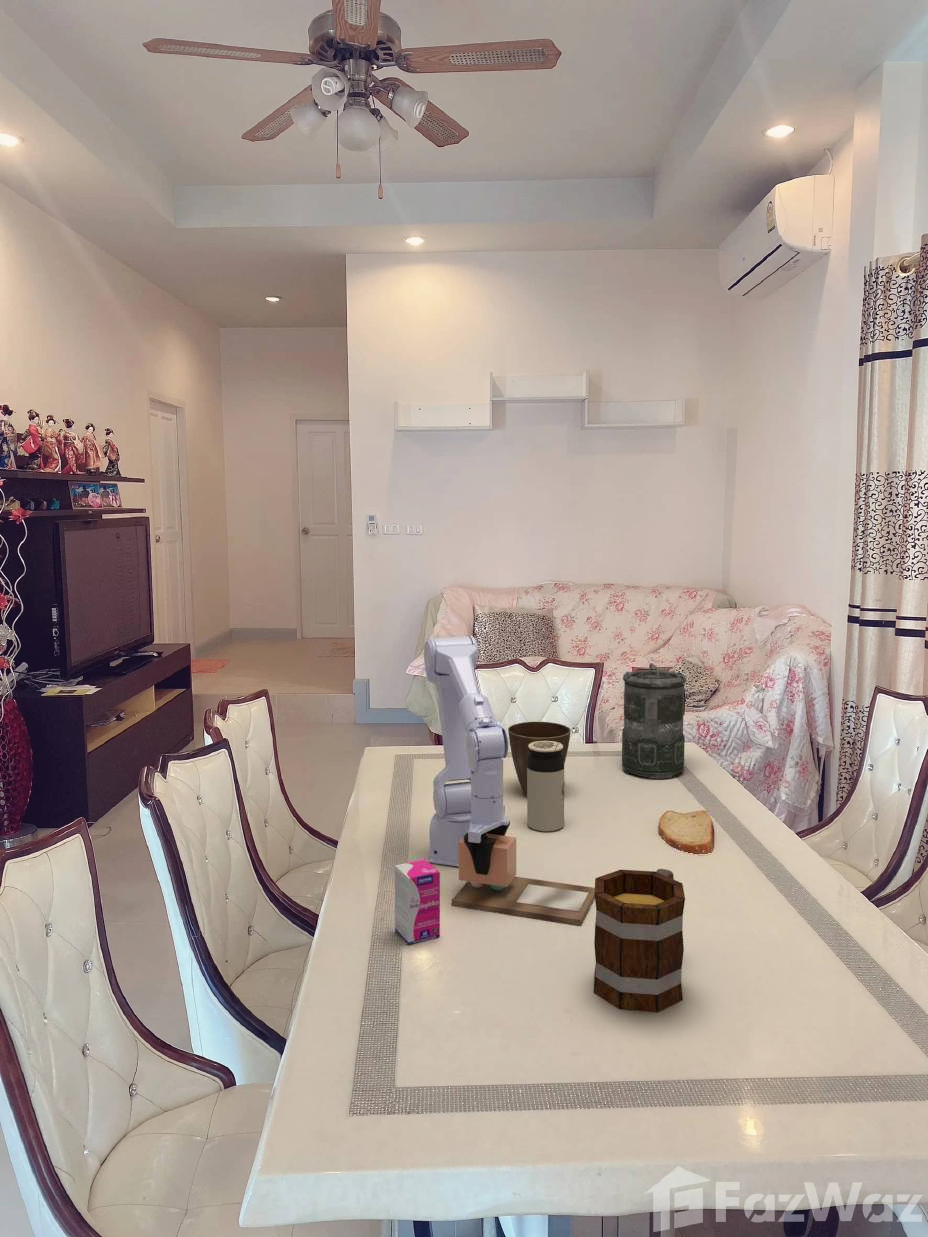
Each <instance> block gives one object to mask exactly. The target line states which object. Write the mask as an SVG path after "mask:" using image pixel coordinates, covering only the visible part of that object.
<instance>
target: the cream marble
mask: <svg viewBox="0 0 928 1237" xmlns="http://www.w3.org/2000/svg"><path fill="white" fill-rule="evenodd" d="M470 883H471V885H472V886H474V887H476V888H480V887H482V886H483V885H484V884H483V883H476V882H470Z"/></svg>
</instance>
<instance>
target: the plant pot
mask: <svg viewBox="0 0 928 1237" xmlns="http://www.w3.org/2000/svg"><path fill="white" fill-rule="evenodd" d="M507 731H508V732H507V734H508V741H509V747H510V752H511V757H512V758H511V759H512V762H513V765H514V770H515V773H516V777H517V779H518V783H519V785H520V788H521V791H522V794H523V795H524V796H525V797H527V759H528V757H529V755H530V749H529V747H528V745H529V744H530V743H532V742H536V741H554V742H558V743H561V744H562V745H563V749H562V752H561V755H562V757H563V758H564V764H565V763H566V760H567V755H568V750H569V747H570V746H569V744H570V740H571V739H570V738H571V732H572V730H571V728H570V727H569V726H567V725H564V724H561V723H557V722H550V721H525V722H518V723H515V724H514V723H513V724H512V725H510V726H509V727H508V728H507Z"/></svg>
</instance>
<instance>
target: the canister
mask: <svg viewBox="0 0 928 1237" xmlns="http://www.w3.org/2000/svg"><path fill="white" fill-rule="evenodd" d="M686 680H687V679H686V676H685V674H683V673H682V672H679V671H678V672H675V671H670V670H661V669H660V668H659V667H658V666H657V665H655V664H654V663H652V662H651V663H649V666H648V668H637V669H636V670H633V671H629V670H628V671H627V672H625V673H624V674H623V675H622V681H623V682H624V685H623V686H624V688H623V689H624V690H623V728H622V730H621V738H622V739H621V768H622V769H623V771H624V772H625V773H626V774H629V773H630V774H632V775H634V776H638V777H643V778H649V779H650V780H663V779H665V780H666V779H671V778H672V777H674V776H676V775H682V773H683V772H684V770H685V767H684V765H685V743H686V742H685V734H684V716H685V714H686V690H685V684H686V682H687V681H686Z"/></svg>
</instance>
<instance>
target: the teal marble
mask: <svg viewBox="0 0 928 1237" xmlns="http://www.w3.org/2000/svg"><path fill="white" fill-rule="evenodd" d="M490 886H491V888H492V889H494V890H496V891H500V890H502V889H504V887H503V886H496V885H490Z"/></svg>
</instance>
